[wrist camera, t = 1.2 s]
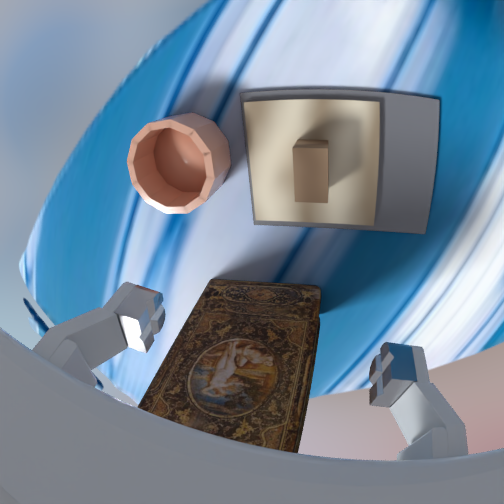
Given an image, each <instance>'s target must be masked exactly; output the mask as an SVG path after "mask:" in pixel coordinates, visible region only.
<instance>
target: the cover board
mask: <svg viewBox="0 0 504 504" xmlns="http://www.w3.org/2000/svg"><path fill="white" fill-rule="evenodd" d="M244 112H245V121H246V131H247V140H248V150H249V159H250V169H251V179H252V189H253V199H254V209H255V219H256V220H263V221H291V222H314V223H335V224H353V225H370V226H374V218H375V208H376V196H377V182H378V165H379V134H380V106H379V102H375V101H361V100H340V99H288V100H266V101H252V102H244Z"/></svg>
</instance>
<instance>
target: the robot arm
mask: <svg viewBox="0 0 504 504" xmlns="http://www.w3.org/2000/svg"><path fill="white" fill-rule="evenodd" d="M162 302H163V295H162V293H160V292H157V291H154V290H151V289H148V288H145V287H142V286H139V285H135V284H132V283H129V282H125V283H123V284H122V285H121V286H120V288H119V289H118V290H117V291H116V292H115V294H114V295H113V296H112V297H111V298H110V299H109V301H108V302H107V303H106V304H105V306H104V307H103V308H100V307H99V308H97V309H94V310H92V311H89V312H87V313H85V314H82V315H80V316H78V317H75V318H73V319H70V320H68V321H66V322H63V323H61V324H59V325H56V326H54V327H52V328H50V329H49V330H48V331H47V333H46V334H45V335H44V336H43V337H42V339H41V340H40V341H39V342H38V344H37V345H36V346H35V347H34V348H33V350H31V349H29V348H28V347H26V346H25V345H23V344H22V343H20V342H19V341H18V340H16V339H15V338H13V337H12V336H11V335H9V334H8V333H7V332H6V331H4V330H3V329H2V328H0V504H504V448H502V449H497V450H492V451H487V452H482V453H476V454H470V455H468V446H467V437H466V429H465V425H464V423H463V422H462V420H461V419H460V418H459V416H458V415H457V414H456V412H455V411H454V410H453V408H452V407H451V406H450V404H449V403H448V402H447V401H446V399H445V398H444V397H443V395H442V394H441V393H440V391H439V390H438V389H437V388H436V386H435V385H434V384H433V383H430V381H429V375H428V370H427V364H426V359H425V354H424V350H423V348H422V347H419V346H411V345H410V346H409V345H404V344H396V343H389V342H385V343H384V344H383V345H382V347H381V348H380V351H381V354H379V355H377V356H375V358H374V360H373V361H372V364H371V367H370V372H369V380H370V382H371V383H372V384H373V386H372V387H371V389H370V405H372V406H381V407H390V410H391V412H392V414H393V416H394V418H395V420H396V422H397V424H398V426H399V427H400V429H401V431H402V433H403V435H404V437H405V439H406V441H407V443H408V445H409V446H408V447H406V448H405V449H404V450H402V451H401V452H399V453H398V454H397V460H395V461H384V460H383V461H382V460H381V461H380V460H354V459H341V458H330V457H320V456H311V455H304V454H298V453H292V452H286V451H280V450H275V449H270V448H265V447H260V446H255V445H251V444H246V443H242V442H238V441H234V440H230V439H227V438H223V437H219V436H216V435H212V434H209V433H206V432H202V431H199V430H196V429H193V428H190V427H187V426H184V425H181V424H178V423H175V422H173V421H170V420H167V419H164V418H162V417H159V416H157V415H154V414H152V413H149V412H147V411H144V410H142V409H139V408H137V407H135V406H132V405H130V404H128V403H126V402H123V401H121V400H119V399H117V398H115V397H113V396H111V395H109V394H106V393H104V392H102V391H100V390H98V389H96V388H95V385H96V384H97V380H96V378H95V376H94V375H93V373H92V371H91V370H92V369H94V368H96V367H97V366H99V365H100V364H102V363H104V362H105V361H107V360H109V359H110V358H112V357H113V356H115V355H117V354H118V353H120V352H121V351H123V350H125V349H126V348H127V347H130V348H133V349H136V350H138V351H141V352H144V353H147V352H148V350H149V349H150V347H151V345H152V344H153V342H154V336H153V335H154V334H156V333H158V332H160V330H161V328H162V327H163V324H164V321H165V309H164V307H163V306H162V305H161V303H162Z"/></svg>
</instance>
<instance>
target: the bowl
mask: <svg viewBox="0 0 504 504" xmlns="http://www.w3.org/2000/svg"><path fill="white" fill-rule="evenodd" d="M127 164H128V168H129V173H130V177H131V181H132V184H133V186H134V187H135V188H136V190H137V191H138V192H139V194H140V195H141V196H142V198H143V199H144V200H145V202H146V203H148V204H150V205H151V206H153V207H155V208H157V209H159V210H161V211H162V212H164V213H166V214H168V213H189V212H191V211H192V210H194V209H195V208H197V207H198V206H200V205H201V204H203V203H204V202H206V201H207V200H208V199H209V198H210V197H211V196H212V195H213V194H214V193H215V192H216V191H217V190H218V189H219V188H220V187H221V185H222V184H223V182H224V180H225V178H226V175H227V173H228V171H229V169H230V166H231V158H230V150H229V141H228V140H227V138H226V137H225V136H224V134H223V133H222V132H221V130H220V129H219V127H218V126H217V125H216V123H215V122H214V121H212V120H209V119H207V118H205V117H203V116H200V115H198V114H196V113H193V112H192V113H186V114H180V115H174V116H169V117H166V118H163V119H160V120H156V121H153V122H150V123H148V124H147V125H146V126H145V127H144V128H143V129H142V130H141V131H140V132H139V133H138V134H137V135H136V136H135V137H134V138H133V139H132V142H131V146H130V150H129V154H128V159H127Z"/></svg>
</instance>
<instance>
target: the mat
mask: <svg viewBox="0 0 504 504" xmlns="http://www.w3.org/2000/svg"><path fill="white" fill-rule="evenodd" d="M240 98H241V107H242V117H243V126H244V135H245V145H246V154H247V163H248V173H249V182H250V192H251V201H252V211H253V221H254V225H273V226H297V227H319V228H338V229H356V230H372V231H388V232H402V233H416V234H425V233H426V228H427V223H428V217H429V212H430V206H431V199H432V192H433V185H434V177H435V169H436V159H437V147H438V132H439V100H437V99H431V98H425V97H418V96H411V95H404V94H395V93H385V92H374V91H360V90H337V89H295V90H272V91H257V92H246V93H240ZM288 99H340V100H361V101H375V102H379V106H380V134H379V165H378V182H377V196H376V208H375V218H374V226H370V225H353V224H335V223H314V222H291V221H263V220H256V219H255V209H254V199H253V189H252V179H251V169H250V159H249V150H248V140H247V131H246V121H245V112H244V102H252V101H266V100H288Z"/></svg>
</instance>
